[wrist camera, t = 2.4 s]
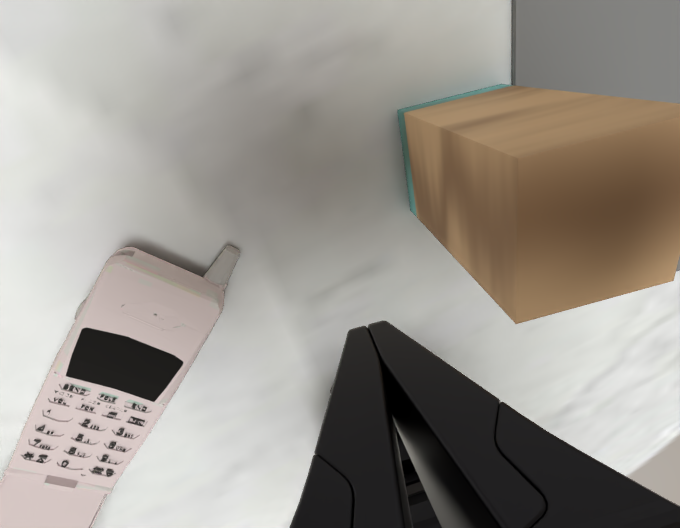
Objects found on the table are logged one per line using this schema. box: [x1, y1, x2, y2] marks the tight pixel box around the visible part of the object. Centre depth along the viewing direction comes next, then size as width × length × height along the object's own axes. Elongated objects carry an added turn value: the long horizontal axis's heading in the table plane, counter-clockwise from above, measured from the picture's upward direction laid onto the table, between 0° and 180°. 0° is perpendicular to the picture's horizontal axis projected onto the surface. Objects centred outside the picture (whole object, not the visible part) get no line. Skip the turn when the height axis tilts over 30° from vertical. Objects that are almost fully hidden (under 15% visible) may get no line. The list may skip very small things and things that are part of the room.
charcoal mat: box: [512, 0, 680, 271], centre depth 20 cm, size 20×13×1 cm, turn 12°
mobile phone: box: [0, 245, 240, 528], centre depth 21 cm, size 6×6×25 cm
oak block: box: [398, 84, 680, 324], centre depth 15 cm, size 5×5×10 cm
